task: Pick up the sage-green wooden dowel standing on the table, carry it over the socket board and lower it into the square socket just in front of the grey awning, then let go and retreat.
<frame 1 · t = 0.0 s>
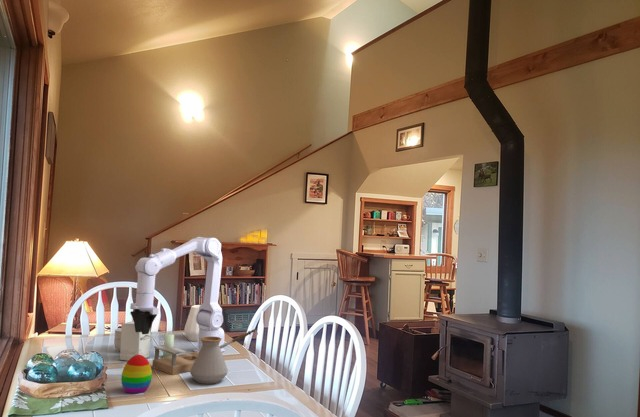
hand: (142, 333, 166), 10 cm above the table, tool pointing down, fingers open, 3 cm apart
coffee pot: (223, 379, 154), on the table
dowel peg: (167, 357, 176), on the table
teacup: (132, 351, 183), on the table
supplement box: (135, 359, 172), on the table, touching gripper
socket board: (190, 365, 167), on the table
decorative egg: (135, 391, 139), on the table
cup: (199, 339, 209), on the table
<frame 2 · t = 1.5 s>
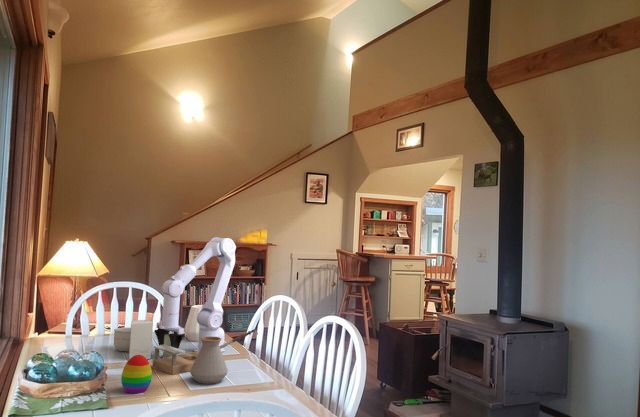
hand: (168, 351, 176), 2 cm above the table, tool pointing down, fingers open, 7 cm apart
supplement box: (139, 357, 174), on the table
everything else where it was.
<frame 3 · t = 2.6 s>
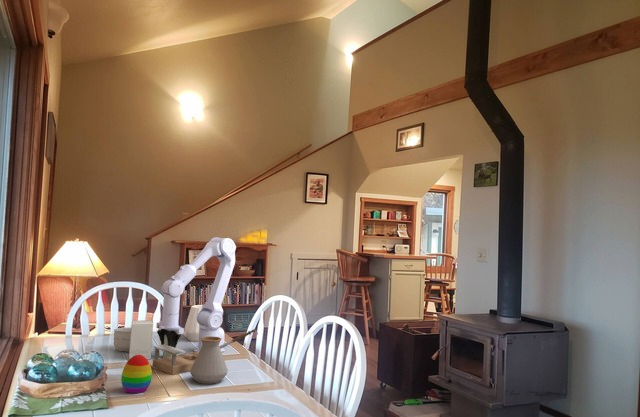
hand: (168, 351, 176), 2 cm above the table, tool pointing down, fingers closed on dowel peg, 3 cm apart
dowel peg: (167, 357, 176), on the table, touching gripper
everything else where it was.
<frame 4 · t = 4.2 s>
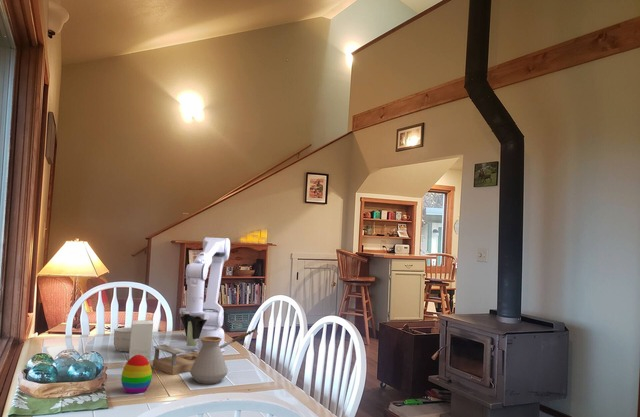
hand: (192, 337, 168), 9 cm above the table, tool pointing down, fingers closed on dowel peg, 3 cm apart
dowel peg: (191, 344, 168), point 7 cm above the table, touching gripper
everything else where it was.
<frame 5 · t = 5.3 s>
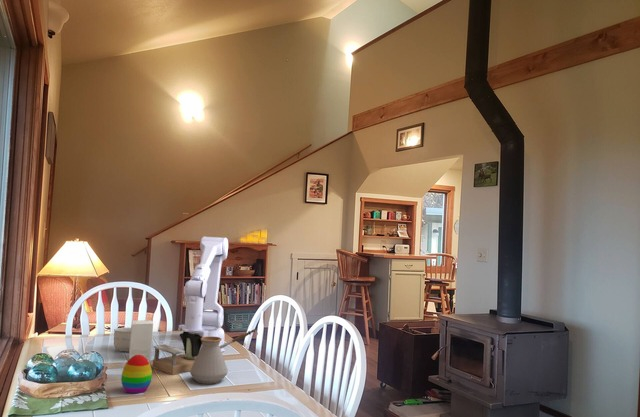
hand: (191, 355, 168), 3 cm above the table, tool pointing down, fingers closed on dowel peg, 3 cm apart
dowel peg: (190, 362, 167), point 1 cm above the table, touching gripper
everything else where it was.
when the fingers open (3 cm above the table, at t = 6.0 s): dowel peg stays where it is, resting in socket board.
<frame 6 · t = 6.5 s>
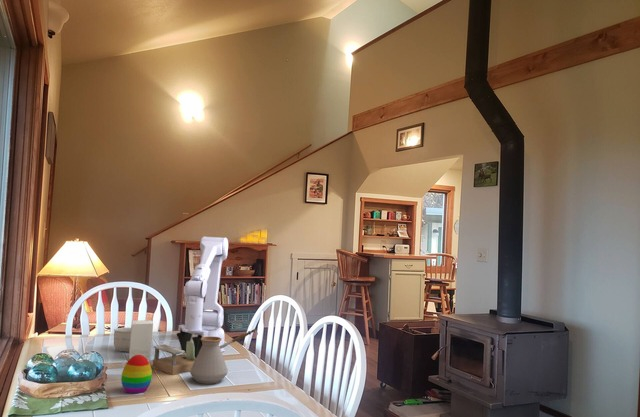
hand: (191, 355, 168), 3 cm above the table, tool pointing down, fingers open, 7 cm apart
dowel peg: (190, 365, 167), resting in socket board
everything else where it was.
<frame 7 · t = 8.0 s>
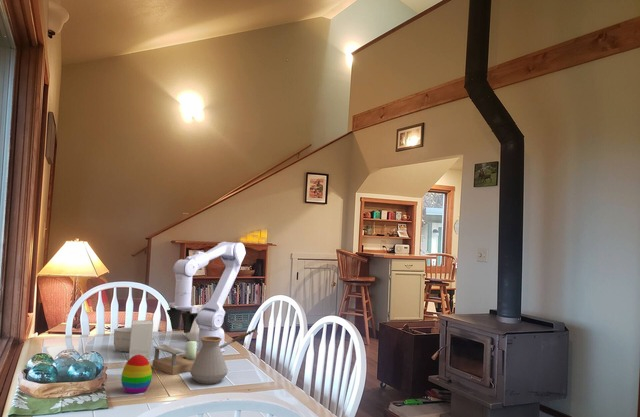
hand: (180, 330, 176), 10 cm above the table, tool pointing down, fingers open, 7 cm apart
nothing on the table moved.
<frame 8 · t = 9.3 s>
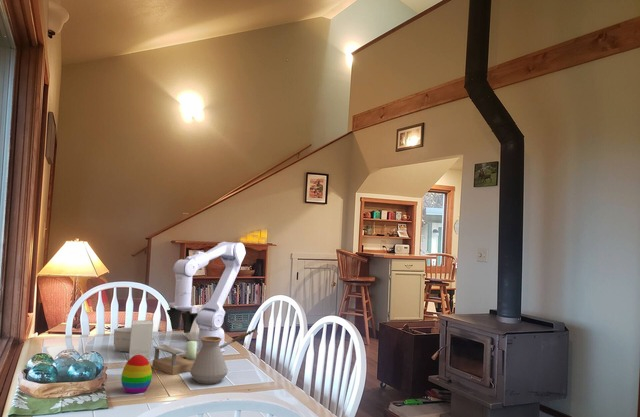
hand: (180, 330, 176), 10 cm above the table, tool pointing down, fingers open, 7 cm apart
nothing on the table moved.
at the end: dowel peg 0.2 cm off-centre on the socket board, point 0.0 cm above the socket board's base; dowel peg tilted 0°; the gripper is holding nothing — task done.
